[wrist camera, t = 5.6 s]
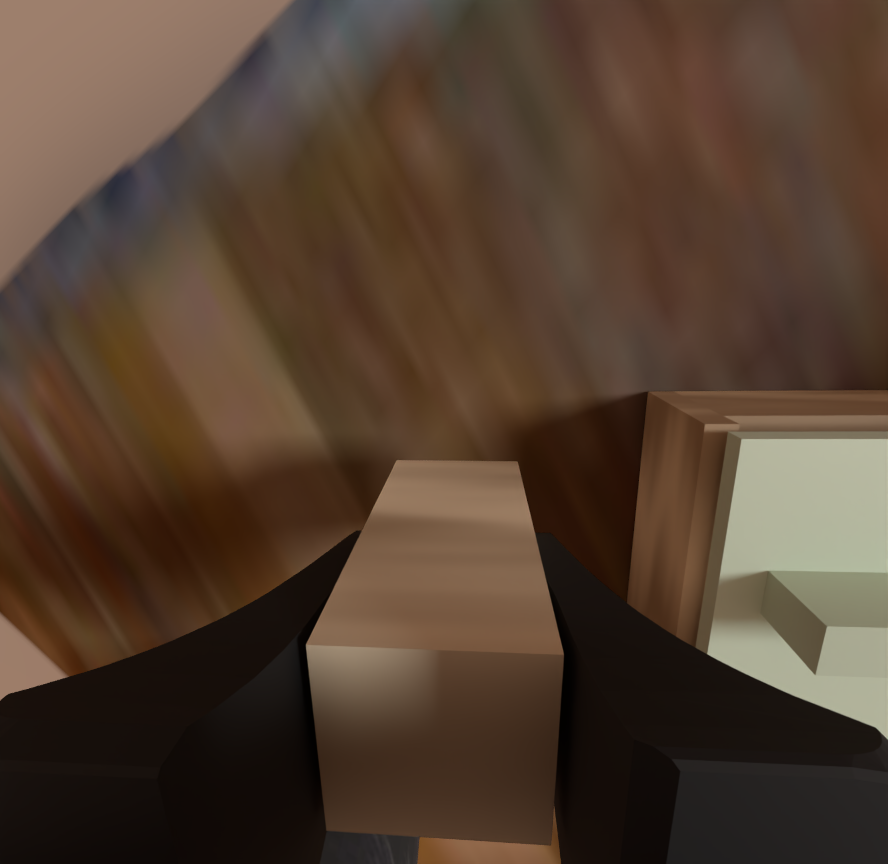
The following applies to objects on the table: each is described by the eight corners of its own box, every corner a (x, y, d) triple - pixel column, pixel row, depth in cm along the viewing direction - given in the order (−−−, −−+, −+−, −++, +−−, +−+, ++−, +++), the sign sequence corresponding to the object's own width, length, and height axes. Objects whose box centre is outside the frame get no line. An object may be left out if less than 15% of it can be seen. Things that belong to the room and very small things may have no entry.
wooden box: (877, 744, 18) (1037, 925, 13) (613, 733, 19) (665, 899, 14) (983, 389, 15) (1270, 443, 9) (647, 391, 15) (737, 442, 10)
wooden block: (514, 569, 13) (551, 844, 7) (401, 565, 14) (326, 830, 7) (517, 461, 12) (563, 655, 6) (396, 460, 13) (305, 644, 6)
